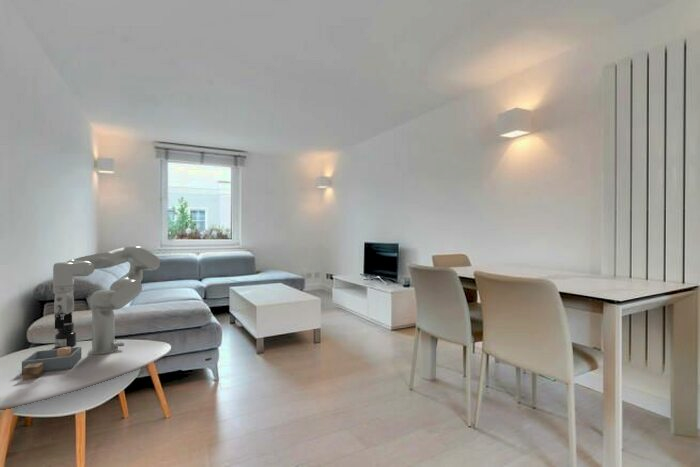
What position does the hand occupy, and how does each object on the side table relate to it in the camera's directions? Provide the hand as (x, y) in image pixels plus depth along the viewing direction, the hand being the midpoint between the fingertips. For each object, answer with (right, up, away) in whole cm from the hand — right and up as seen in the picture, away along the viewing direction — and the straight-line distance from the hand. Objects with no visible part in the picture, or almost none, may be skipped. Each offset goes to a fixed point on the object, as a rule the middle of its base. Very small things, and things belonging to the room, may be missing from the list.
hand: (63, 325), depth 163 cm
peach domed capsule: (0, -18, 0) cm, 18 cm away
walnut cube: (-2, -18, -14) cm, 23 cm away
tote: (-4, -18, -1) cm, 19 cm away
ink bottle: (-20, -18, +26) cm, 38 cm away
